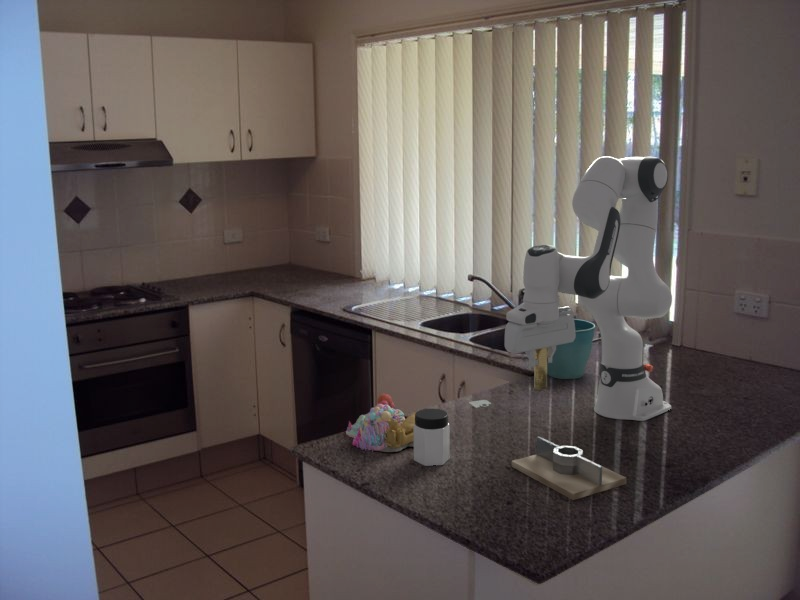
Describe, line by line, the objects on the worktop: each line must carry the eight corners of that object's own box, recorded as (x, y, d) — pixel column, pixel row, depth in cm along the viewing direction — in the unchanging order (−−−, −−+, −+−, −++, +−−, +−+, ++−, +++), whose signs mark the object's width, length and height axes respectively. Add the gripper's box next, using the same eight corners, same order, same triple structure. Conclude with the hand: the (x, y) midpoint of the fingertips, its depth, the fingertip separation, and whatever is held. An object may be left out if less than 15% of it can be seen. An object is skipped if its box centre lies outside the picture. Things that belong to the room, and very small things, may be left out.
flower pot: (561, 363, 293) (562, 315, 290) (605, 375, 280) (606, 324, 276) (526, 374, 282) (526, 324, 278) (569, 386, 268) (570, 333, 265)
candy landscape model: (452, 435, 230) (452, 402, 228) (393, 462, 213) (392, 426, 211) (383, 415, 246) (383, 384, 244) (323, 438, 229) (322, 405, 227)
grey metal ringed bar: (548, 451, 213) (548, 434, 212) (611, 482, 194) (612, 463, 193) (527, 456, 210) (527, 439, 209) (589, 488, 191) (589, 470, 190)
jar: (423, 451, 218) (423, 406, 216) (453, 455, 215) (453, 410, 213) (409, 463, 210) (408, 417, 208) (440, 468, 207) (440, 421, 205)
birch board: (562, 453, 215) (562, 447, 215) (626, 484, 197) (626, 477, 197) (511, 466, 208) (511, 460, 207) (572, 500, 189) (573, 493, 189)
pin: (541, 384, 220) (541, 339, 217) (549, 388, 217) (550, 342, 214) (531, 387, 218) (531, 341, 215) (539, 390, 215) (539, 344, 213)
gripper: (564, 303, 221) (564, 354, 224) (500, 314, 211) (500, 368, 214) (581, 307, 215) (580, 360, 218) (516, 319, 205) (516, 374, 209)
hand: (540, 364), depth 216 cm, fingers closed on pin, 3 cm apart
